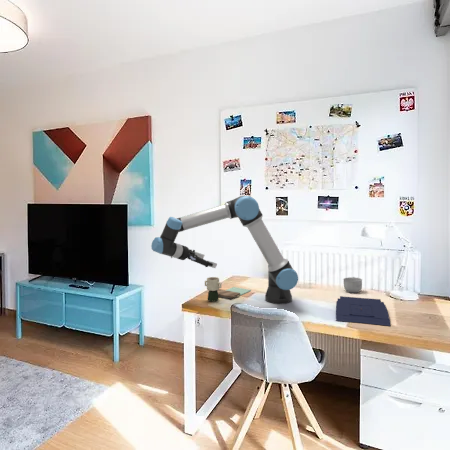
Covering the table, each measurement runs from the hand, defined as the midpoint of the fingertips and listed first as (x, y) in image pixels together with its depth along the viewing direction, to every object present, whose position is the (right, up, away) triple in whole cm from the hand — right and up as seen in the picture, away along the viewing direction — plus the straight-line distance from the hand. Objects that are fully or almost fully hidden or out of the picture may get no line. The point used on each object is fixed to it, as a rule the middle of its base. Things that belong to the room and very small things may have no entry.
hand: (209, 261), depth 205 cm
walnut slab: (+9, -22, +11) cm, 26 cm away
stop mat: (+16, -21, +21) cm, 33 cm away
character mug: (+2, -23, +2) cm, 23 cm away
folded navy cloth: (+77, -25, -21) cm, 84 cm away
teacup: (+88, -21, +20) cm, 92 cm away
